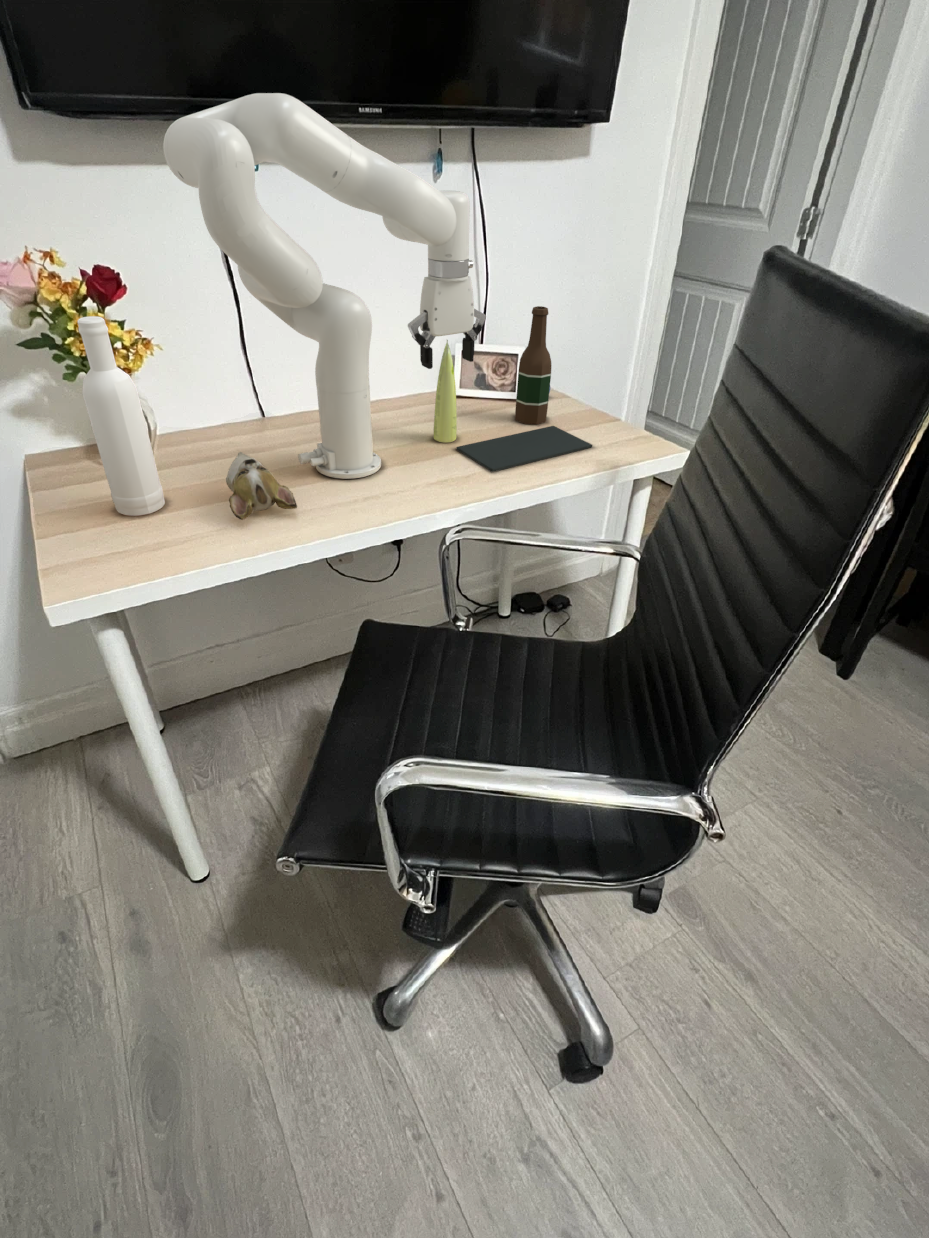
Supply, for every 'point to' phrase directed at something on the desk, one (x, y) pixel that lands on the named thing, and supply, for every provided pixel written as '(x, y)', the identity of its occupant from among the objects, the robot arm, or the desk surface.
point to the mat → (523, 448)
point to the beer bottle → (534, 373)
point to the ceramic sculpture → (255, 488)
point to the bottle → (118, 425)
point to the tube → (445, 401)
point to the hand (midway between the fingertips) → (447, 363)
